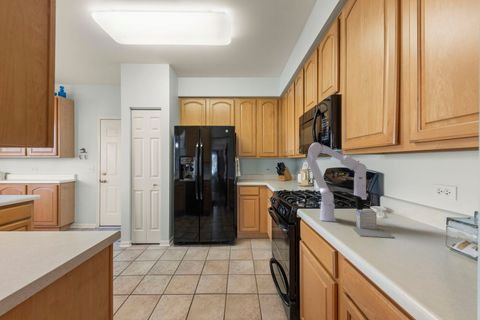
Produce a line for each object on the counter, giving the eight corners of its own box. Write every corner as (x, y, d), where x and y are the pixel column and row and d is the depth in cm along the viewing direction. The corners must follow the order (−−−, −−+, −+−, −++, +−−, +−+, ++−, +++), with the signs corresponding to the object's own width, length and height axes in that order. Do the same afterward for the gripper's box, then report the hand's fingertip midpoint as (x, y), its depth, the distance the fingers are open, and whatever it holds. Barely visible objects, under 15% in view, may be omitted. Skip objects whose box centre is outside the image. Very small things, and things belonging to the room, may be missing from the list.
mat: (352, 228, 115) (352, 228, 115) (384, 230, 112) (384, 229, 112) (360, 236, 104) (360, 235, 104) (394, 238, 101) (394, 237, 101)
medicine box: (372, 227, 118) (372, 209, 118) (376, 229, 114) (376, 211, 114) (356, 226, 119) (356, 209, 119) (359, 229, 114) (359, 211, 114)
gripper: (373, 187, 118) (372, 214, 118) (363, 184, 132) (363, 208, 132) (358, 187, 119) (358, 213, 119) (350, 184, 134) (349, 207, 134)
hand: (359, 210), depth 126 cm, fingers closed
